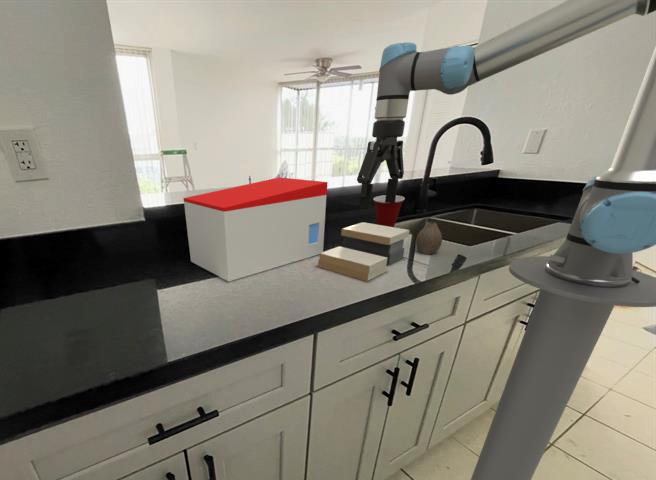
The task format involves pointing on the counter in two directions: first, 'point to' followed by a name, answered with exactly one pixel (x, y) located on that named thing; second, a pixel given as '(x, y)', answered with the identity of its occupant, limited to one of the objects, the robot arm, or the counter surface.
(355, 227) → the beige flat rectangular block
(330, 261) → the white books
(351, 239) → the grey books
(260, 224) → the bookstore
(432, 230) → the vase
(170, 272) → the counter surface
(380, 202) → the plastic cup
